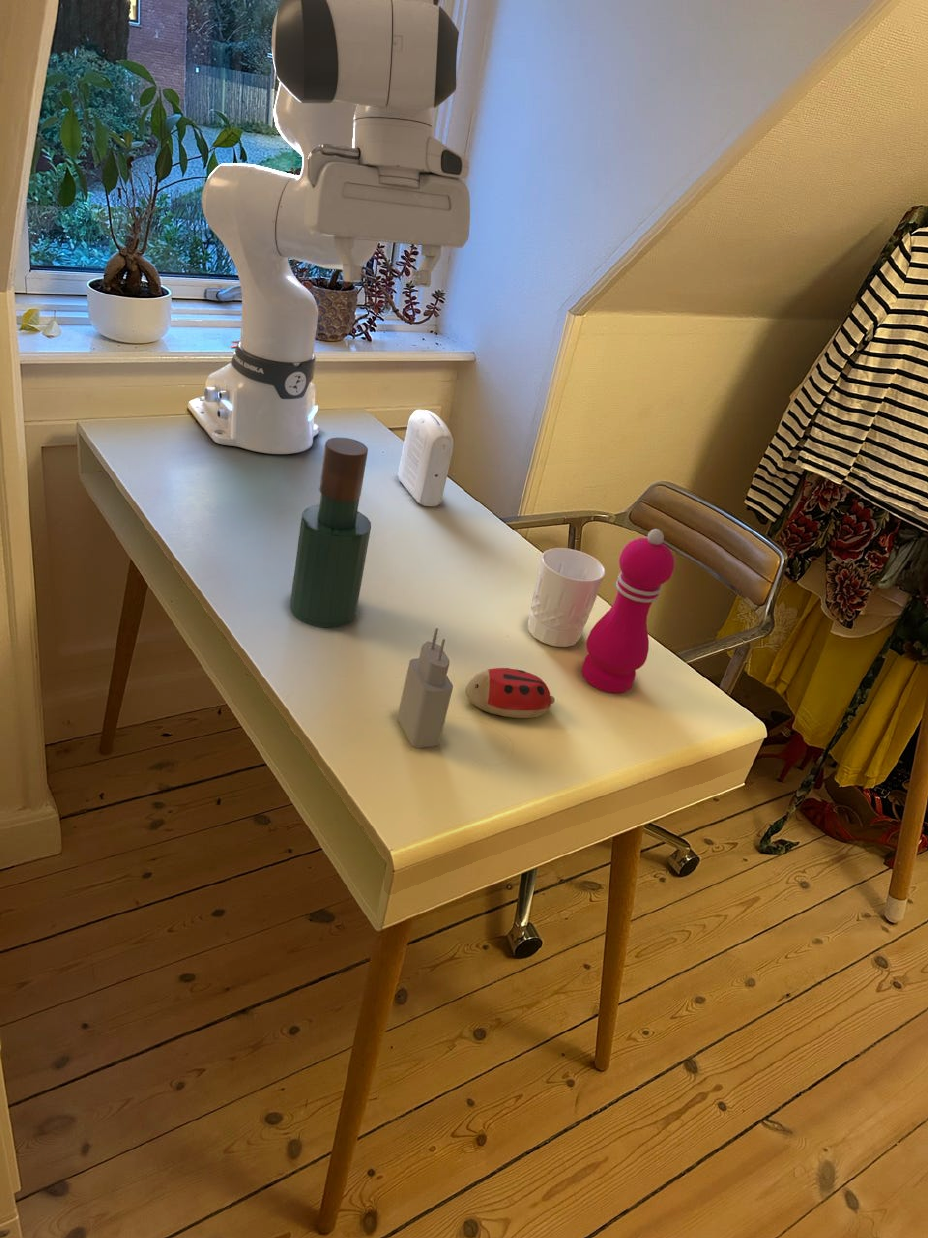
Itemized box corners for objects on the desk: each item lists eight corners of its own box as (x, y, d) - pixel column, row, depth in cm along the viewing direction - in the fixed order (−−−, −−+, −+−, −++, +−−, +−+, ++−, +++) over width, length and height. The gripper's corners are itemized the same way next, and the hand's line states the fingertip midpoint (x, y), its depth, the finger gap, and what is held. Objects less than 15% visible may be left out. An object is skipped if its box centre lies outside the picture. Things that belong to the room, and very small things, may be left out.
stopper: (308, 506, 108) (317, 439, 104) (341, 500, 111) (351, 435, 107) (331, 524, 106) (342, 457, 102) (365, 518, 109) (376, 452, 105)
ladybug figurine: (461, 680, 109) (467, 654, 107) (545, 690, 111) (553, 664, 109) (466, 717, 103) (473, 690, 101) (555, 727, 105) (564, 701, 103)
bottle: (277, 600, 115) (291, 481, 107) (331, 586, 120) (348, 472, 112) (314, 633, 111) (332, 513, 103) (368, 618, 116) (389, 502, 108)
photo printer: (444, 507, 146) (461, 430, 140) (418, 507, 144) (434, 429, 138) (418, 476, 154) (433, 403, 147) (393, 476, 152) (407, 401, 145)
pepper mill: (634, 703, 112) (690, 553, 102) (574, 685, 113) (623, 534, 102) (637, 670, 118) (690, 525, 108) (580, 653, 119) (627, 508, 108)
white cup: (512, 616, 123) (531, 548, 118) (565, 614, 126) (585, 547, 121) (539, 652, 117) (560, 582, 112) (594, 648, 120) (617, 580, 115)
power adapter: (422, 712, 102) (444, 617, 96) (441, 745, 98) (465, 648, 92) (395, 714, 101) (415, 618, 95) (413, 748, 97) (435, 651, 91)
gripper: (322, 138, 100) (319, 279, 105) (481, 163, 112) (473, 289, 116) (294, 142, 105) (293, 277, 109) (450, 166, 117) (443, 287, 121)
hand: (387, 284), depth 113 cm, fingers open, 8 cm apart
